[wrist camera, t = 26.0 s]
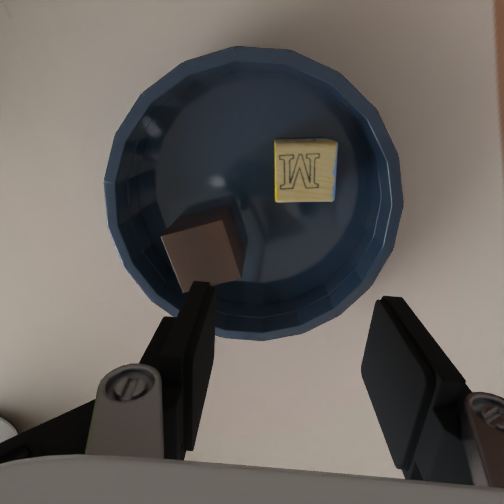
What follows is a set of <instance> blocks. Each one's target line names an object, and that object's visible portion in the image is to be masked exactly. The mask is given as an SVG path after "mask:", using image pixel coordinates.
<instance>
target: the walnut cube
mask: <svg viewBox="0 0 504 504" xmlns="http://www.w3.org/2000/svg"><path fill="white" fill-rule="evenodd" d="M161 239H162V242H163V244H164V247H165V249H166V252H167V254H168V257H169V259H170V262H171V264H172V267H173V269H174V272H175V274H176V277H177V279H178V282H179V284H180V287H181V289H182V292H183V293H184V292H188V291H189V289H190V287H191V285H192V283H193V281H204V282H210V283H211V286H213V285H217V284H221V283H225V282H229V281H233V280H237V279H241V278H242V273H243V267H244V261H245V252H244V249H243V246H242V242H241V239H240V236H239V233H238V230H237V227H236V224H235V220H234V217H233V214H232V211H231V208H230V205H225V206H221V207H218V208H214V209H211V210H207V211H203V212H200V213H196V214H193V215H189V216H185V217H182V218H178V219H176V220H175V221H174V222H173V223H172V225H171V226H170V227H169V228H168V229H167V230H166V231H165V232H164V233H163V234H162V235H161Z"/></svg>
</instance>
